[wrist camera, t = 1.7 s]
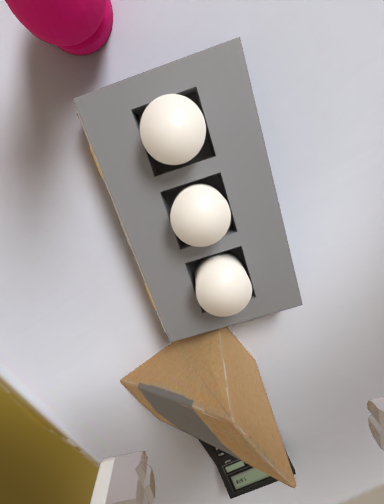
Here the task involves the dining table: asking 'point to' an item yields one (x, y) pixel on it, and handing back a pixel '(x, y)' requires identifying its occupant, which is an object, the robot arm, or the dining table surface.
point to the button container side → (222, 284)
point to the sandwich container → (214, 399)
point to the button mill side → (172, 129)
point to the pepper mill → (67, 22)
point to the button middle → (200, 215)
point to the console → (194, 171)
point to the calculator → (238, 472)
